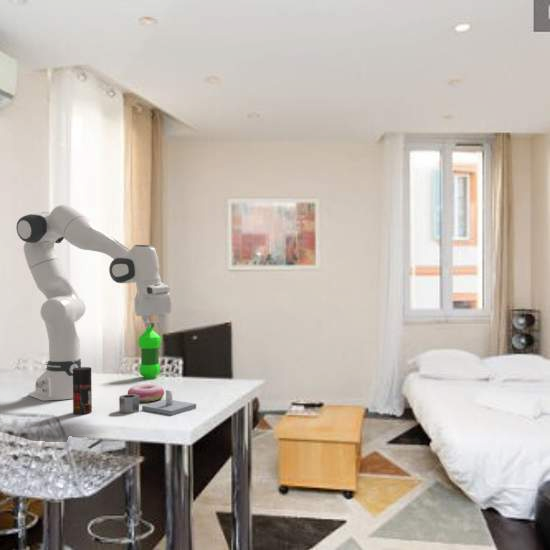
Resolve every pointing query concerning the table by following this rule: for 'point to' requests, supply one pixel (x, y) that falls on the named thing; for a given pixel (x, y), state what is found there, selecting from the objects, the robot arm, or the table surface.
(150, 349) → the plastic bottle
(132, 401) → the ring
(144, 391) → the donut
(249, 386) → the table surface
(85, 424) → the table surface
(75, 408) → the deodorant
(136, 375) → the table surface
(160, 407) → the shaft block
